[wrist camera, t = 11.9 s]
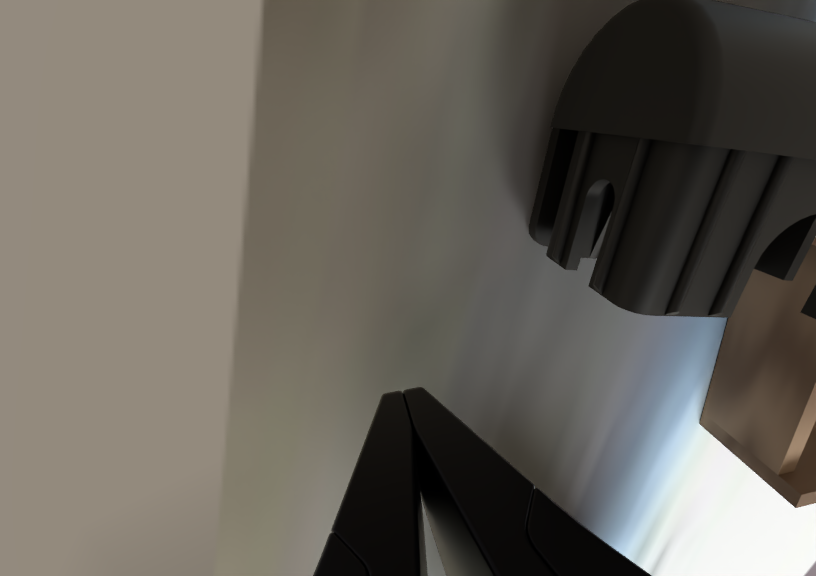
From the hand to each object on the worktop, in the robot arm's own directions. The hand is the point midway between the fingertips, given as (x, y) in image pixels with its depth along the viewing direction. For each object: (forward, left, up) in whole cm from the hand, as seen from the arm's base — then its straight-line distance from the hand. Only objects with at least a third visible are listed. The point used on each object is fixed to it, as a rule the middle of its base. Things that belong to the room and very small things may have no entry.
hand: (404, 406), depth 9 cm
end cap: (+3, -11, -8) cm, 14 cm away
